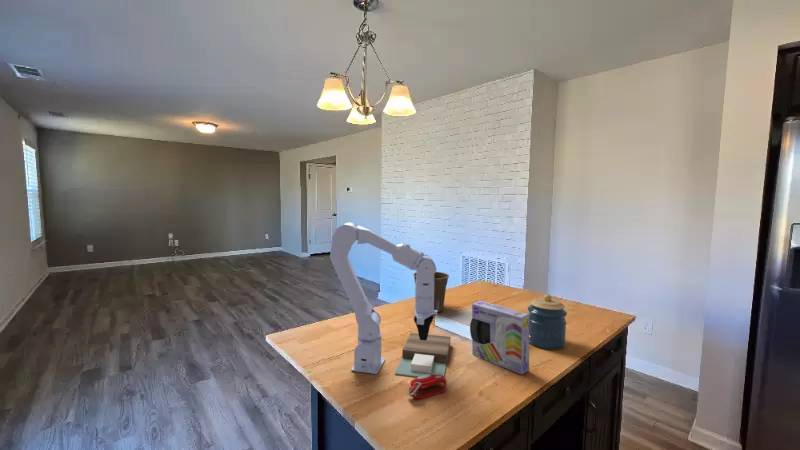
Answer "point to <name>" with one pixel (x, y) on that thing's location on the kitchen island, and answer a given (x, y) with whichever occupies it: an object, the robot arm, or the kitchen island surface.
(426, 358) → the tile
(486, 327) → the cake pan box
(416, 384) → the tracker holder
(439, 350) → the board
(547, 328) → the canister
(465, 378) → the kitchen island surface
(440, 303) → the plant pot
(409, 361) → the mat
